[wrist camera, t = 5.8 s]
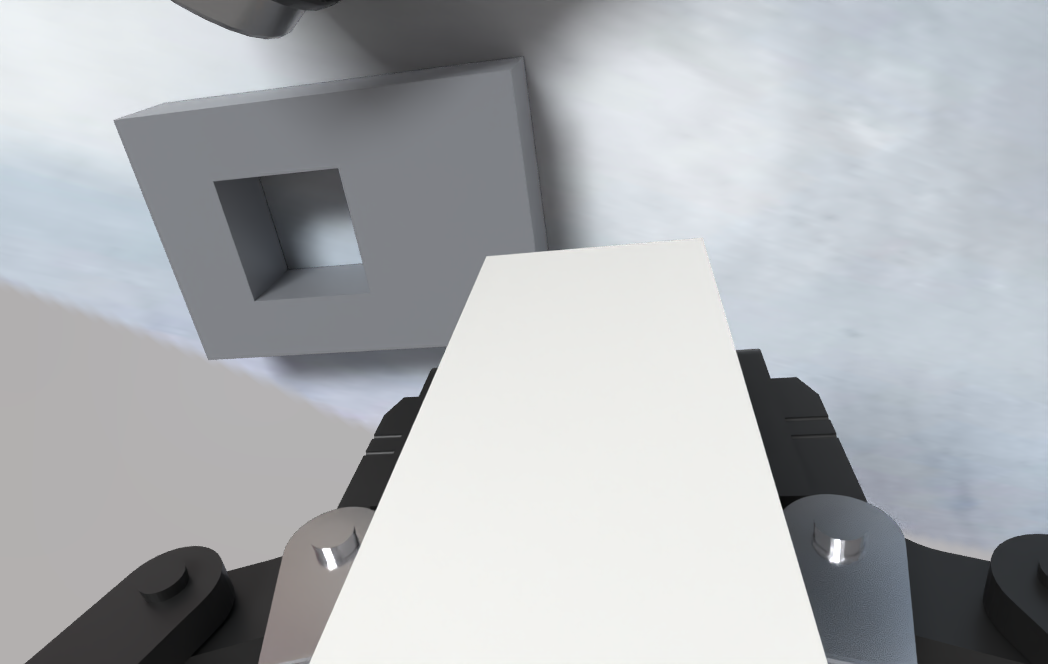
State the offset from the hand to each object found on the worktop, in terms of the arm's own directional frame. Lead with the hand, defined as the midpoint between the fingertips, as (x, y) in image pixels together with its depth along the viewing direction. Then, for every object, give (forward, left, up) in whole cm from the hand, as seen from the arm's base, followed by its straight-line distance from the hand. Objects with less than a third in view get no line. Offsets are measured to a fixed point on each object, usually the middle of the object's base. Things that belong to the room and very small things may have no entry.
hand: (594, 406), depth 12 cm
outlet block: (+11, +2, -20) cm, 23 cm away
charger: (0, 0, -2) cm, 2 cm away
